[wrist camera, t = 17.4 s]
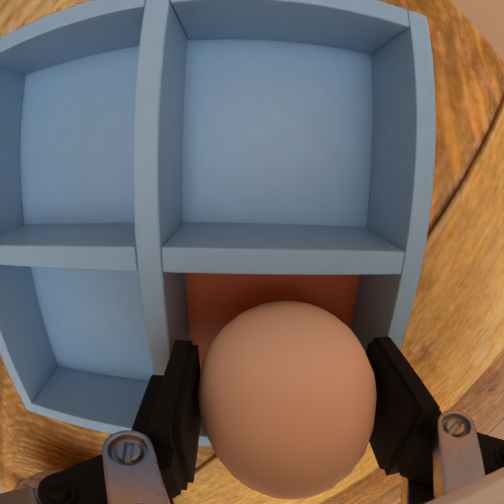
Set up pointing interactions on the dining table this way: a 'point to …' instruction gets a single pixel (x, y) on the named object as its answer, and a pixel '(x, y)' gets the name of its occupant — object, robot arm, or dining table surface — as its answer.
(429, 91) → the grid
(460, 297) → the dining table surface
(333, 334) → the egg
